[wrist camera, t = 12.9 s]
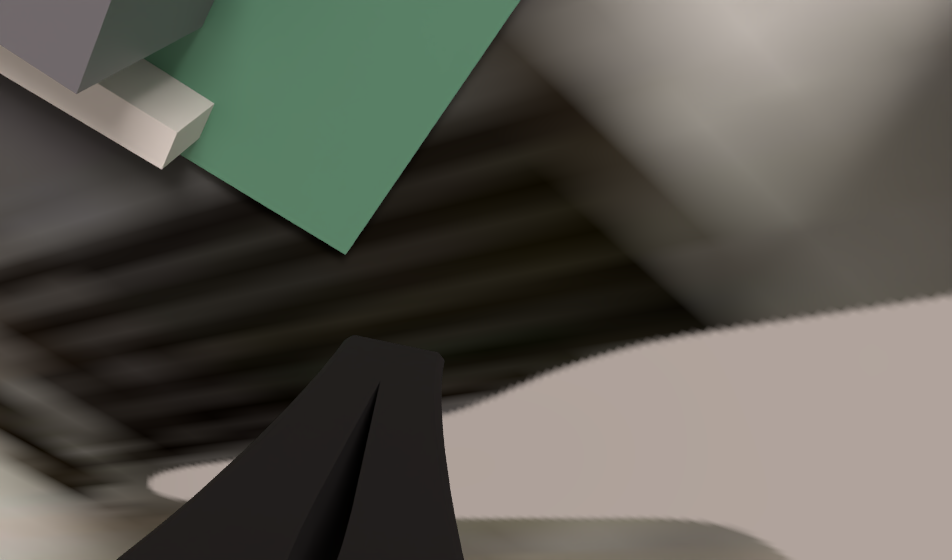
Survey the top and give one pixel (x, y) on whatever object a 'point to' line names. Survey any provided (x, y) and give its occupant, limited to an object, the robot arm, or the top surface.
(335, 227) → the board
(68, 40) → the plug block
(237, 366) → the top surface
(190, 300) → the top surface
